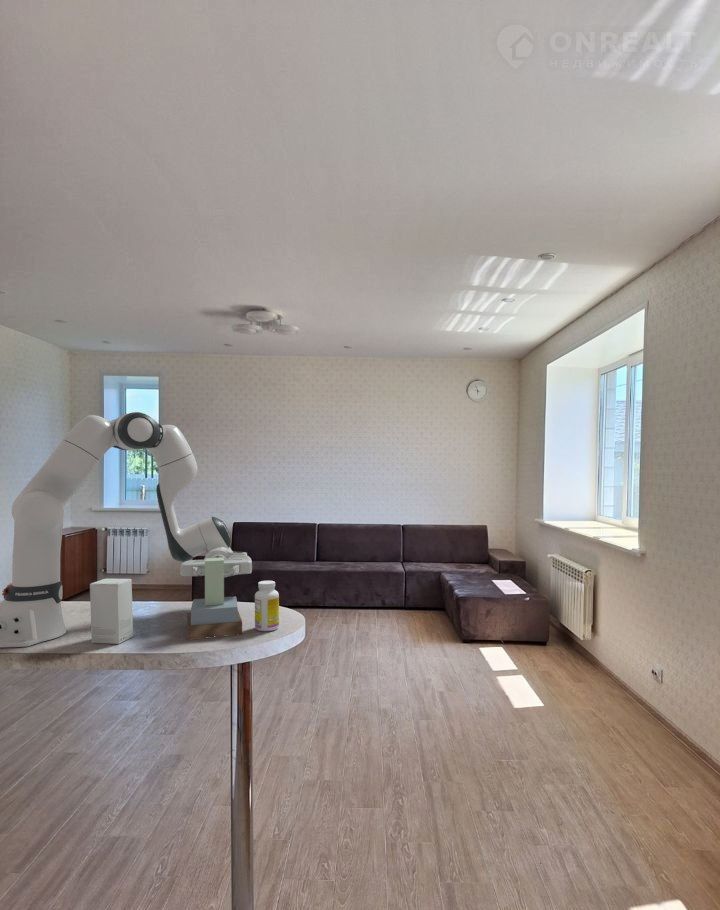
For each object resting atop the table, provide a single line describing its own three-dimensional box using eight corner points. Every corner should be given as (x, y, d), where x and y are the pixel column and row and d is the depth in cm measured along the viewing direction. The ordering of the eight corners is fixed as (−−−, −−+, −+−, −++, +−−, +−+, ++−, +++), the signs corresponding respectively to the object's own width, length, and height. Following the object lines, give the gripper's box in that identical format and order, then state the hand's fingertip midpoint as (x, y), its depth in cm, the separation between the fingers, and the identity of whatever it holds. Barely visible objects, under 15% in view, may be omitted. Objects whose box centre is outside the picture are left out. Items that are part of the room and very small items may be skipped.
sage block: (204, 605, 145) (204, 561, 146) (205, 601, 150) (205, 558, 150) (223, 604, 146) (223, 560, 147) (223, 600, 151) (223, 557, 152)
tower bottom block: (187, 642, 140) (187, 626, 140) (187, 627, 153) (187, 612, 153) (242, 636, 144) (242, 621, 144) (237, 622, 157) (237, 608, 157)
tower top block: (190, 625, 141) (190, 610, 141) (193, 613, 152) (193, 599, 153) (237, 621, 144) (237, 606, 144) (236, 610, 155) (236, 596, 156)
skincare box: (133, 637, 142) (134, 578, 142) (117, 645, 135) (117, 583, 136) (106, 635, 144) (106, 577, 144) (88, 643, 137) (89, 582, 138)
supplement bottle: (281, 625, 152) (281, 579, 152) (275, 632, 145) (275, 585, 146) (258, 624, 153) (258, 579, 153) (251, 631, 146) (251, 584, 146)
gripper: (182, 554, 161) (176, 562, 148) (251, 551, 165) (251, 559, 152) (182, 575, 161) (176, 585, 148) (251, 572, 165) (251, 581, 152)
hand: (215, 572), depth 150 cm, fingers open, 8 cm apart
